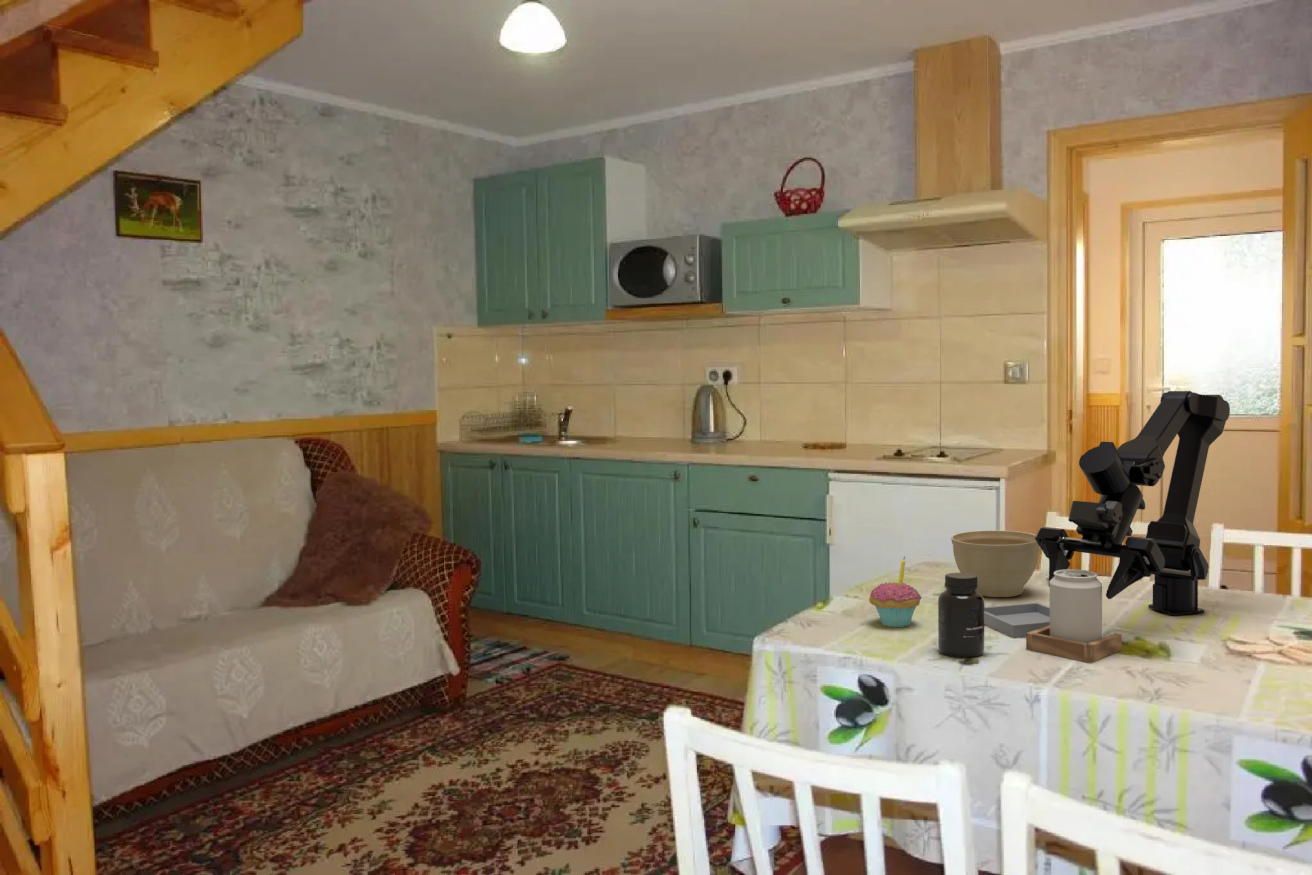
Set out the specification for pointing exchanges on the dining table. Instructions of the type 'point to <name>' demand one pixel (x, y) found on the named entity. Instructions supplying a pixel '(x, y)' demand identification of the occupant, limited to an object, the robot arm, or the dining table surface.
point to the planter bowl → (997, 559)
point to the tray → (1017, 618)
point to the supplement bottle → (961, 617)
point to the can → (1076, 605)
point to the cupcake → (895, 601)
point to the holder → (1073, 645)
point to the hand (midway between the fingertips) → (1078, 592)
